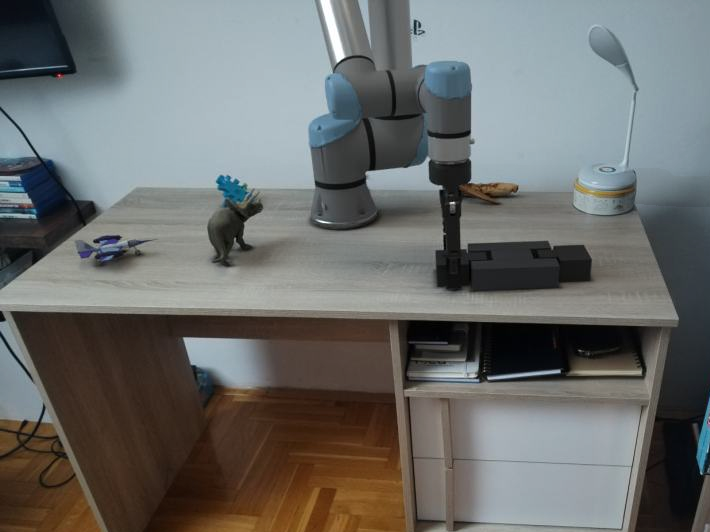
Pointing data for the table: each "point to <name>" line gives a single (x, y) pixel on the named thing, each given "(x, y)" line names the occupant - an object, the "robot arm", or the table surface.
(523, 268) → the base tile
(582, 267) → the dark stepped block
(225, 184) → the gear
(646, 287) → the table surface
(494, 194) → the bone fish hook
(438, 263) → the dark grey t-shaped block
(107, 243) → the toy airplane
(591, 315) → the table surface
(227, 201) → the toy dinosaur
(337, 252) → the table surface
